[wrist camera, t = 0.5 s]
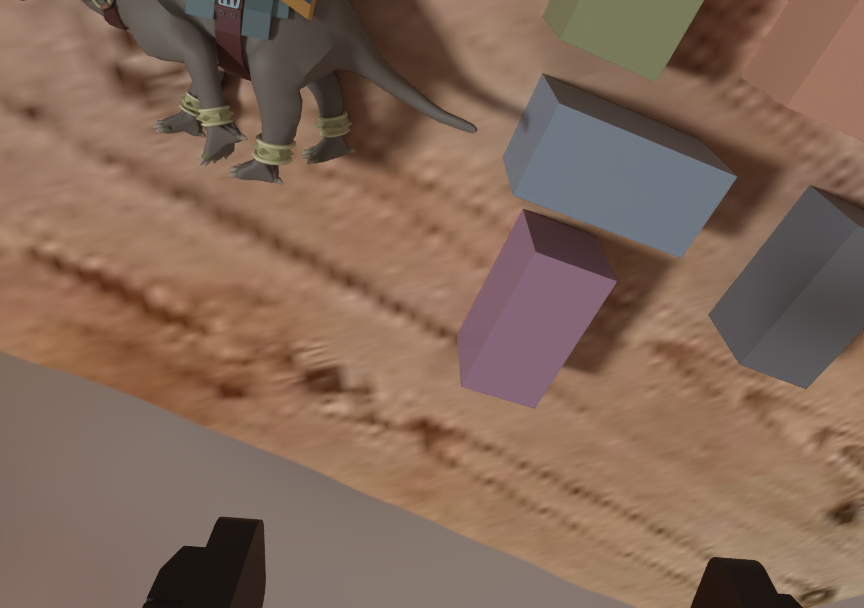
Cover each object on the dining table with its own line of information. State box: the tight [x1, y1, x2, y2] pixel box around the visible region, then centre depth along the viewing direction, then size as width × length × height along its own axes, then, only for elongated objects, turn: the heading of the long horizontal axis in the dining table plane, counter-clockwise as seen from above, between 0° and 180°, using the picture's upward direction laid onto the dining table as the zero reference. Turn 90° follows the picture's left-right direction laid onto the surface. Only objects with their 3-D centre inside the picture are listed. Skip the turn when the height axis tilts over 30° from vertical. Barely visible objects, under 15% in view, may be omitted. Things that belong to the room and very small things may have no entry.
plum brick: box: [457, 209, 617, 409], centre depth 33 cm, size 8×4×4 cm, turn 158°
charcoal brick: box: [709, 186, 864, 389], centre depth 32 cm, size 8×4×4 cm, turn 157°
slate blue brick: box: [503, 74, 737, 258], centre depth 29 cm, size 8×4×4 cm, turn 68°
